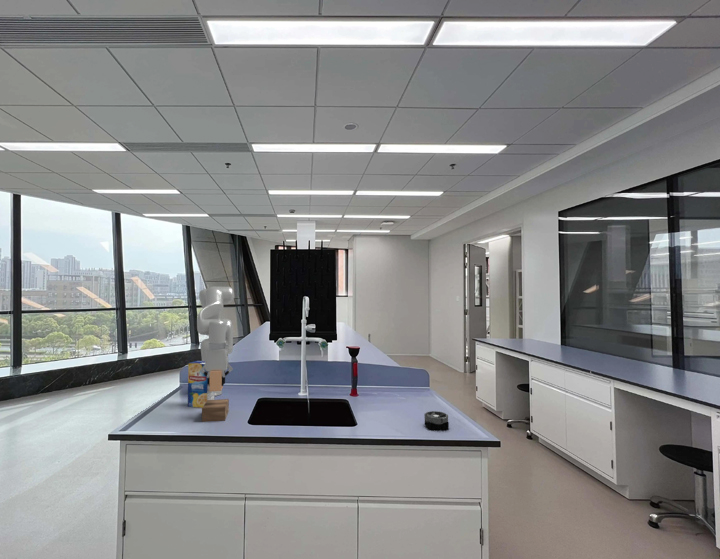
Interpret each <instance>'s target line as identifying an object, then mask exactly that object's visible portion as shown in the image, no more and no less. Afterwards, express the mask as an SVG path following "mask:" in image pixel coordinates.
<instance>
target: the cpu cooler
mask: <svg viewBox="0 0 720 559" xmlns="http://www.w3.org/2000/svg"><path fill="white" fill-rule="evenodd" d="M423 414H424V425H425V427H426V430H429V431H448V430H449V429H450V426H449V424H450V422H449V415H448V414H447V413H446V412H442V411H438V410H437V411H436V410H434V411H433V410H431V411H427V412H425V413H423Z"/></svg>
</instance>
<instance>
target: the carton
mask: <svg viewBox="0 0 720 559" xmlns="http://www.w3.org/2000/svg"><path fill="white" fill-rule="evenodd" d="M223 388H224V385H223V386H222V371H210V387H209V392H211V391H223Z"/></svg>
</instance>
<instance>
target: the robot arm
mask: <svg viewBox="0 0 720 559" xmlns="http://www.w3.org/2000/svg"><path fill="white" fill-rule="evenodd" d="M198 298H199V303H200V305H201V307H202V309H201V310H200V311H199V313H197V314H198V315H197V317H196V329H197V330H196V331H197V333H198V334H199V335H201V336H208V338H205V339H202V341H201V342H200V345H199V346H200V353H201V361H205V365H204V366H203V367H202V368H201V370H200V372H202V373H203V374H204V375H205V376H206V377H207V378H208V384H209V387H210V371H222V386H223V387H224V384H226V376H227V375H229V374H230V372H233V370H234V369H233V367H232V366H231V364H229V355H230V354H232V352H233V349H234V326H233V322H232V320H231V319H229V318H220V314H221V313H222V312H223V310H224V304H225V305H228V304H231V303H232V302H233V301H234V298H235V291H234V289H233V288H232V287H231V286H210V287H207V288H203V289H201V290H200V291H199V293H198ZM204 369H205V370H206V371H208V373H207V372H206V371H205V370H204ZM222 394H223V390H221V391H215V397H217V396H219V395H222Z"/></svg>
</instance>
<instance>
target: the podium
mask: <svg viewBox="0 0 720 559" xmlns="http://www.w3.org/2000/svg"><path fill="white" fill-rule="evenodd" d="M229 402H230V399H229V398H224V399H214V400H207V401H206V403H205V405H204V406H203V408H201V422H202V423H205V422H206V423H207V422H210V423H211V422H222V421H223V422H224V421H226V419H227V416H228V414H229V411H230V410H229V409H230V407H229V404H230V403H229Z"/></svg>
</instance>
